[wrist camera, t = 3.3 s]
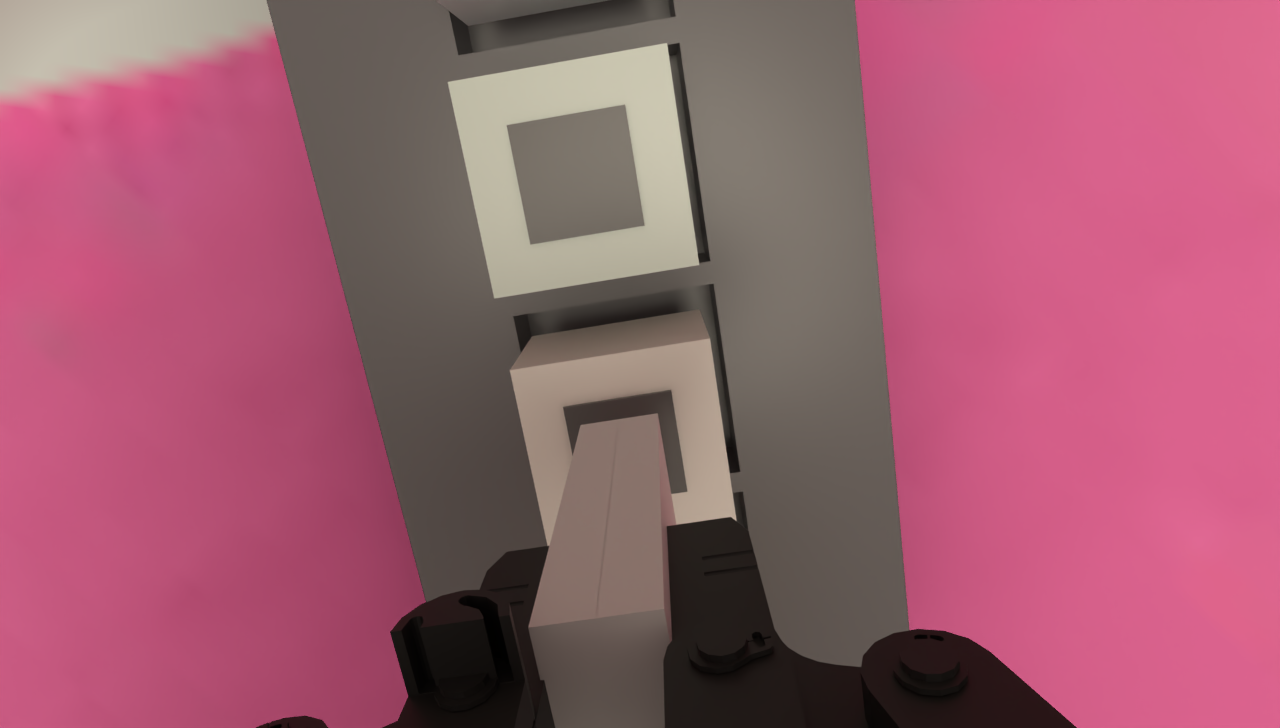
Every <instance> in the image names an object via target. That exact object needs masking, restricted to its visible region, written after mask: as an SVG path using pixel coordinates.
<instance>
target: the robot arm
mask: <svg viewBox="0 0 1280 728" xmlns="http://www.w3.org/2000/svg"><path fill="white" fill-rule="evenodd" d="M390 633H391V636H392V640H393V643H394V647H395V651H396V654H397V658H398V661H399V665H400V668H401V672H402V675H403V679H404V682H405V686H406V689H407V693H408V699H407V701H406V703H405V705H404V708H403V710H402V712H401V714H400V717H399V719H398V721H396V722H394V723H392V724H389V725H387V726H385V727H382V728H1076V727H1075V726H1074V725H1073V724H1072V723H1071V722H1070V721H1068V720H1067V719H1066V718H1065V717H1064V716H1063V715H1062V714H1060V713H1059V712H1058V711H1057V710H1056V709H1055V708H1054V707H1052V706H1051V705H1050V704H1049V703H1048V702H1047V701H1046V700H1044V699H1043V698H1042V697H1041V696H1040V695H1039V694H1038V693H1036V692H1035V691H1034V690H1033V689H1032V688H1031V687H1030V686H1028V685H1027V684H1026V683H1025V682H1024V681H1023V680H1022V679H1020V678H1019V677H1018V676H1017V675H1016V674H1015V673H1014V672H1012V671H1011V670H1010V669H1009V668H1008V667H1007V666H1006V665H1004V664H1003V663H1002V662H1001V661H1000V660H999V659H998V658H996V657H995V656H994V655H993V654H992V653H991V652H990V651H988V650H986V649H985V648H983V647H982V646H980V645H978V644H977V643H975V642H974V641H972V640H970V639H969V638H965V637H962V636H959V635H955V634H952V633H949V632H946V631H937V630H923V629H916V630H909V631H903V632H897V633H893V634H891V635H889V636H887V637H884V638H882V639H880V640H878V641H876V642H874V644H873V645H872V646H871V647H870V648H869V649H868V650H867V652H866V653H865V654H864V655H863V658H862V665H861V667H856V666H845V665H835V664H830V663H824V662H818V661H815V660H813V659H810V658H807V657H804V656H801V655H800V654H798V653H796V652H795V651H793V650H791V649H790V648H788V647H787V646H786V645H785V644H784V643H783V642H782V640H781V639H780V637H779V635H778V634H777V632H776V631H775V628H774V625H773V621H772V617H771V614H770V610H769V606H768V602H767V599H766V595H765V591H764V587H763V584H762V580H761V576H760V572H759V569H758V565H757V561H756V557H755V553H754V550H753V546H752V542H751V538H750V535H749V531H748V530H747V529H746V528H744V527H743V526H742V525H740V524H739V523H738V522H737V521H735V520H734V519H733V518H732V517H726V518H720V519H713V520H706V521H699V522H692V523H685V524H678V525H676V519H675V513H674V507H673V501H672V495H671V489H670V483H669V478H668V472H667V466H666V460H665V454H664V448H663V442H662V436H661V430H660V424H659V418H658V413H656V414H650V415H643V416H637V417H630V418H623V419H617V420H610V421H604V422H597V423H591V424H584V425H581V426H580V429H579V433H578V437H577V441H576V445H575V449H574V453H573V456H572V460H571V464H570V468H569V472H568V476H567V480H566V484H565V487H564V491H563V495H562V499H561V503H560V507H559V511H558V514H557V518H556V522H555V526H554V530H553V534H552V538H551V542H550V545H549V546H543V547H536V548H529V549H522V550H515V551H508V552H506V553H505V554H504V555H503V556H502V557H501V558H500V559H499V560H498V561H497V562H496V563H495V564H493V565H492V566H491V567H490V568H489V569H488V570H487V572H486V574H485V577H484V579H483V582H482V584H481V587H480V590H463V591H458V592H454V593H450V594H446V595H442V596H440V597H437V598H435V599H433V600H431V601H428V602H426V603H424V604H421V605H420V606H418V607H417V608H415V609H414V610H412V611H411V612H410V613H408V614H407V615H405V616H404V617H402V618H401V620H400V621H399V622H398V623H397V624H396V626H395V627H394V628H393V629H392V630H391V632H390ZM256 728H328V727H327V726H326V724H325V723H324V722H323V721H322V720H320V719H316V718H312V717H308V716H299V717H290V718H283V719H280V720H276V721H272V722H271V723H266V724H264V725H261V726H259V727H256Z"/></svg>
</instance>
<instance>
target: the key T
mask: <svg viewBox="0 0 1280 728" xmlns="http://www.w3.org/2000/svg"><path fill="white" fill-rule="evenodd" d="M510 374H511V378H512V383H513V388H514V392H515V397H516V402H517V406H518V411H519V415H520V420H521V425H522V429H523V434H524V439H525V443H526V448H527V453H528V457H529V462H530V467H531V471H532V476H533V480H534V485H535V490H536V494H537V499H538V504H539V508H540V513H541V518H542V522H543V527H544V531H545V536H546V541H547V545H548V546H549V545H550V542H551V538H552V534H553V530H554V526H555V522H556V518H557V514H558V511H559V507H560V503H561V499H562V495H563V491H564V487H565V484H566V480H567V476H568V472H569V468H570V464H571V460H572V456H573V453H574V449H575V445H576V441H577V437H578V433H579V429H580V426H581V425H584V424H591V423H597V422H604V421H610V420H617V419H623V418H630V417H637V416H643V415H650V414H656V413H658V418H659V424H660V430H661V436H662V442H663V448H664V454H665V460H666V466H667V472H668V478H669V483H670V489H671V495H672V501H673V507H674V513H675V519H676V525H678V524H685V523H692V522H699V521H706V520H713V519H720V518H726V517H732V518H733V519H734V520H735V521H736V514H735V507H734V500H733V493H732V486H731V479H730V472H729V466H728V459H727V452H726V445H725V438H724V431H723V424H722V417H721V411H720V404H719V397H718V390H717V383H716V376H715V369H714V362H713V356H712V349H711V342H710V337H709V334H708V332H707V329H706V326H705V324H704V321H703V318H702V316H701V313H700V310H699V309H698V310H692V311H686V312H680V313H673V314H667V315H661V316H655V317H649V318H642V319H636V320H630V321H624V322H618V323H611V324H605V325H599V326H593V327H587V328H580V329H574V330H568V331H562V332H555V333H549V334H543V335H537V336H532V337H531V339H530V340H529V342H528V343H527V345H526V346H525V348H524V349H523V351H522V352H521V354H520V355H519V357H518V359H517V360H516V362H515V363H514V365H513V366H512V368H511V369H510Z"/></svg>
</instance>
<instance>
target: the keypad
mask: <svg viewBox="0 0 1280 728" xmlns="http://www.w3.org/2000/svg"><path fill="white" fill-rule="evenodd" d="M267 4H268V7H269V11H270V15H271V18H272V22H273V26H274V30H275V34H276V38H277V41H278V45H279V49H280V53H281V56H282V60H283V64H284V68H285V71H286V75H287V79H288V83H289V87H290V90H291V94H292V98H293V102H294V105H295V109H296V113H297V117H298V121H299V124H300V128H301V132H302V136H303V139H304V143H305V147H306V151H307V154H308V158H309V162H310V166H311V170H312V173H313V177H314V181H315V185H316V188H317V192H318V196H319V200H320V204H321V207H322V211H323V215H324V219H325V222H326V226H327V230H328V234H329V237H330V241H331V245H332V249H333V253H334V256H335V260H336V264H337V268H338V271H339V275H340V279H341V283H342V287H343V290H344V294H345V298H346V302H347V305H348V309H349V313H350V317H351V320H352V324H353V328H354V332H355V336H356V339H357V343H358V347H359V351H360V354H361V358H362V362H363V366H364V370H365V373H366V377H367V381H368V385H369V388H370V392H371V396H372V400H373V404H374V407H375V411H376V415H377V419H378V422H379V426H380V430H381V434H382V437H383V441H384V445H385V449H386V453H387V456H388V460H389V464H390V468H391V471H392V475H393V479H394V483H395V487H396V490H397V494H398V498H399V502H400V505H401V509H402V513H403V517H404V520H405V524H406V528H407V532H408V536H409V539H410V543H411V547H412V551H413V554H414V558H415V562H416V566H417V570H418V573H419V577H420V581H421V585H422V588H423V592H424V596H425V600H426V602H428V601H431V600H433V599H435V598H437V597H440V596H442V595H446V594H450V593H454V592H458V591H463V590H480V587H481V584H482V582H483V579H484V577H485V574H486V572H487V570H488V569H489V568H490V567H491V566H492V565H493V564H495V563H496V562H497V561H498V560H499V559H500V558H501V557H502V556H503V555H504V554H505V553H506V552H508V551H515V550H522V549H529V548H536V547H543V546H548V545H547V541H546V536H545V531H544V527H543V522H542V518H541V513H540V508H539V504H538V499H537V494H536V490H535V485H534V480H533V476H532V471H531V467H530V462H529V457H528V453H527V448H526V443H525V439H524V434H523V429H522V425H521V420H520V415H519V411H518V406H517V402H516V397H515V392H514V388H513V383H512V378H511V374H510V369H511V368H512V366H513V365H514V363H515V362H516V360H517V359H518V357H519V355H520V354H521V352H522V351H523V349H524V348H525V346H526V345H527V343H528V342H529V340H530V339H531V337H532V336H537V335H543V334H549V333H555V332H562V331H568V330H574V329H580V328H587V327H593V326H599V325H605V324H611V323H618V322H624V321H630V320H636V319H642V318H649V317H655V316H661V315H667V314H673V313H680V312H686V311H692V310H698V309H699V310H700V313H701V316H702V318H703V321H704V324H705V326H706V329H707V332H708V334H709V337H710V342H711V349H712V356H713V362H714V369H715V376H716V383H717V390H718V397H719V404H720V411H721V417H722V424H723V431H724V438H725V445H726V452H727V459H728V466H729V472H730V479H731V486H732V493H733V500H734V507H735V514H736V521H737V522H738V523H739V524H740V525H742V526H743V527H744V528H746V529H747V530H748V531H749V535H750V538H751V542H752V546H753V550H754V553H755V557H756V561H757V565H758V569H759V572H760V576H761V580H762V584H763V587H764V591H765V595H766V599H767V602H768V606H769V610H770V614H771V617H772V621H773V625H774V628H775V631H776V632H777V634H778V635H779V637H780V639H781V640H782V642H783V643H784V644H785V645H786V646H787V647H788V648H790V649H791V650H793V651H795V652H796V653H798V654H800V655H801V656H804V657H807V658H810V659H813V660H815V661H818V662H824V663H830V664H835V665H845V666H856V667H861V665H862V658H863V655H864V654H865V653H866V652H867V650H868V649H869V648H870V647H871V646H872V645H873V644H874V642H876V641H878V640H880V639H882V638H884V637H887V636H889V635H891V634H893V633H897V632H903V631H909V622H908V610H907V598H906V587H905V575H904V564H903V552H902V541H901V529H900V518H899V506H898V495H897V483H896V472H895V460H894V449H893V437H892V426H891V414H890V403H889V391H888V379H887V368H886V356H885V345H884V333H883V322H882V310H881V299H880V287H879V276H878V264H877V253H876V241H875V230H874V218H873V207H872V195H871V183H870V172H869V160H868V149H867V137H866V126H865V114H864V103H863V91H862V80H861V68H860V57H859V45H858V34H857V22H856V11H855V0H609V1H603V2H598V3H592V4H587V5H581V6H575V7H570V8H564V9H559V10H553V11H548V12H542V13H537V14H531V15H526V16H520V17H515V18H509V19H504V20H498V21H493V22H487V23H482V24H476V25H471V26H468V25H466V24H465V23H464V22H463V21H461V20H460V19H459V18H457V17H456V16H455V15H454V14H452V13H451V12H450V11H449V10H447V9H446V8H445V7H443V6H442V5H441V4H440V3H438V2H437V1H436V0H267ZM664 43H667V46H668V53H669V60H670V67H671V74H672V81H673V88H674V94H675V101H676V108H677V115H678V122H679V129H680V136H681V143H682V149H683V156H684V163H685V170H686V177H687V184H688V191H689V197H690V204H691V211H692V218H693V225H694V232H695V239H696V246H697V252H698V259H699V265H697V266H690V267H684V268H678V269H672V270H666V271H660V272H654V273H648V274H642V275H635V276H629V277H623V278H617V279H611V280H605V281H599V282H593V283H587V284H581V285H574V286H568V287H562V288H556V289H550V290H544V291H538V292H532V293H526V294H519V295H513V296H507V297H501V298H495V299H494V295H493V290H492V286H491V281H490V276H489V272H488V267H487V262H486V258H485V253H484V248H483V244H482V239H481V234H480V230H479V225H478V221H477V216H476V211H475V207H474V202H473V197H472V193H471V188H470V183H469V179H468V174H467V170H466V165H465V160H464V156H463V151H462V146H461V142H460V137H459V132H458V128H457V123H456V118H455V114H454V109H453V105H452V100H451V95H450V91H449V86H448V82H450V81H456V80H461V79H467V78H473V77H478V76H484V75H490V74H495V73H501V72H506V71H512V70H518V69H523V68H529V67H535V66H540V65H546V64H551V63H557V62H563V61H568V60H574V59H580V58H585V57H591V56H596V55H602V54H608V53H613V52H619V51H624V50H630V49H636V48H641V47H647V46H653V45H658V44H664Z"/></svg>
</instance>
